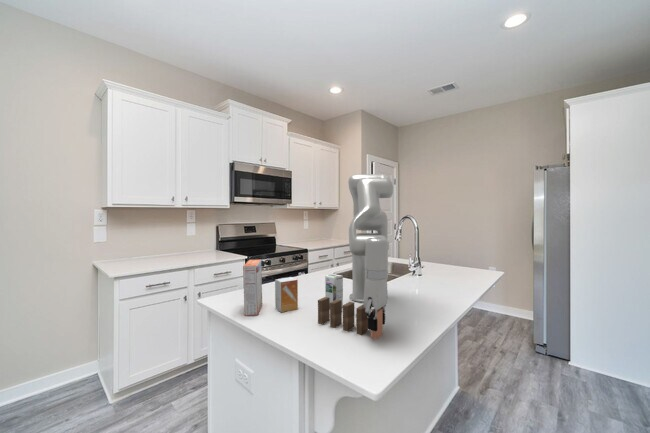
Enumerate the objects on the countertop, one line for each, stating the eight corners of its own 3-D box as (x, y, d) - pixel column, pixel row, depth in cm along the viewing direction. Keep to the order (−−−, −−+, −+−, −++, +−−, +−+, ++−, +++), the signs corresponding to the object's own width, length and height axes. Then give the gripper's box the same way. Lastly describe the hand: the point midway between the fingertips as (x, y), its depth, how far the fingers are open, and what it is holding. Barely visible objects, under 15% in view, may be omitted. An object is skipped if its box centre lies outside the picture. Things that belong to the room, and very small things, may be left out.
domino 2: (330, 326, 106) (329, 302, 106) (337, 322, 110) (337, 299, 110) (334, 328, 105) (334, 303, 105) (341, 323, 109) (341, 300, 109)
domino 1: (318, 323, 109) (317, 300, 109) (325, 319, 113) (325, 296, 113) (322, 324, 108) (322, 301, 108) (329, 320, 112) (329, 297, 112)
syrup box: (324, 308, 126) (324, 275, 125) (333, 305, 130) (333, 273, 130) (334, 311, 122) (334, 277, 122) (343, 308, 126) (343, 275, 126)
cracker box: (249, 304, 131) (248, 259, 131) (262, 304, 132) (262, 259, 131) (243, 316, 117) (242, 265, 117) (258, 315, 118) (257, 264, 117)
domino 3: (342, 330, 103) (342, 305, 103) (349, 325, 107) (349, 301, 107) (347, 331, 102) (347, 306, 102) (354, 326, 106) (354, 302, 106)
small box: (281, 312, 121) (280, 282, 121) (275, 308, 126) (274, 279, 126) (298, 309, 125) (297, 279, 125) (291, 305, 131) (291, 276, 130)
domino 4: (356, 334, 100) (356, 308, 100) (363, 329, 104) (362, 304, 104) (361, 335, 99) (361, 309, 99) (368, 330, 103) (368, 305, 103)
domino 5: (371, 338, 97) (370, 311, 97) (377, 332, 101) (377, 307, 101) (376, 339, 96) (376, 312, 95) (382, 334, 100) (382, 308, 100)
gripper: (376, 268, 107) (377, 316, 107) (354, 277, 93) (354, 333, 93) (396, 270, 103) (396, 321, 103) (376, 280, 89) (376, 339, 89)
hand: (376, 326), depth 98 cm, fingers open, 5 cm apart
